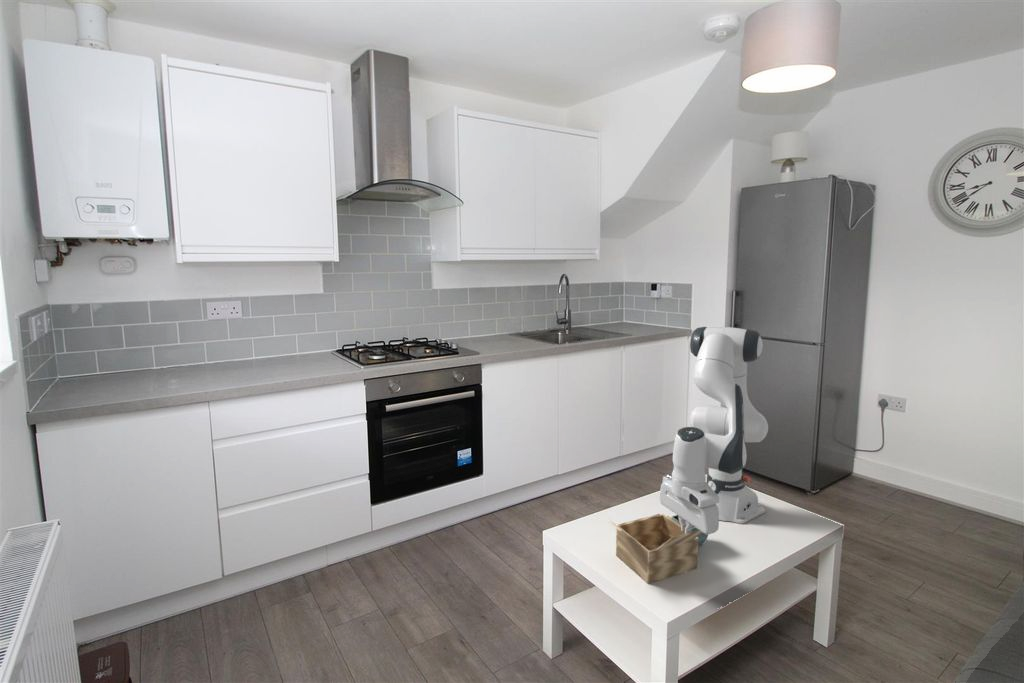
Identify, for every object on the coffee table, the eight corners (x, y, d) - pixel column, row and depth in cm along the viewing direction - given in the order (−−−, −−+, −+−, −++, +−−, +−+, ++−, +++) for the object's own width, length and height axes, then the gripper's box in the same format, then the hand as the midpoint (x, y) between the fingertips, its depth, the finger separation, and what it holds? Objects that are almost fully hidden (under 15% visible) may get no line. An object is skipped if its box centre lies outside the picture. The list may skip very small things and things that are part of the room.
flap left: (707, 527, 151) (708, 528, 150) (691, 538, 157) (692, 540, 157) (671, 537, 145) (671, 539, 145) (656, 549, 152) (656, 550, 152)
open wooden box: (662, 540, 175) (663, 512, 173) (698, 567, 160) (700, 537, 158) (614, 554, 168) (615, 525, 166) (648, 584, 153) (649, 552, 151)
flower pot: (688, 555, 167) (689, 528, 165) (669, 541, 175) (670, 516, 173) (710, 548, 170) (711, 522, 169) (690, 535, 178) (691, 510, 177)
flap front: (605, 517, 158) (604, 518, 158) (621, 530, 151) (620, 531, 151) (624, 531, 162) (623, 532, 162) (640, 544, 155) (639, 545, 155)
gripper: (654, 473, 155) (653, 517, 157) (705, 505, 136) (702, 554, 139) (672, 470, 157) (670, 513, 160) (724, 500, 139) (721, 548, 141)
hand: (686, 532), depth 149 cm, fingers closed
